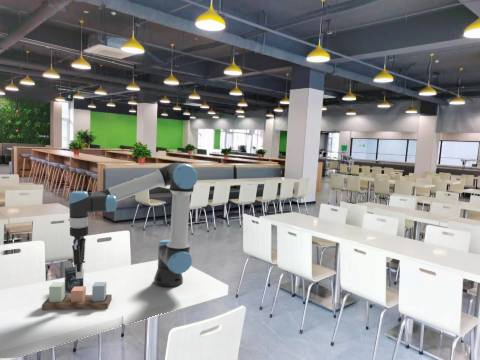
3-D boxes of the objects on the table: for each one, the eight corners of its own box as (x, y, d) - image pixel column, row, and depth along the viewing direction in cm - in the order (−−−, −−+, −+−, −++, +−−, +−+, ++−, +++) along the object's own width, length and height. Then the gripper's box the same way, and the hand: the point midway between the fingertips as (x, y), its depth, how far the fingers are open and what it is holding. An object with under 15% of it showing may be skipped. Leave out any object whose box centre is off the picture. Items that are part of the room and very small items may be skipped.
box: (66, 292, 181) (66, 271, 181) (64, 288, 186) (64, 267, 185) (83, 289, 186) (83, 268, 185) (81, 285, 190) (81, 265, 190)
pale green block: (64, 297, 170) (64, 282, 169) (61, 301, 165) (61, 286, 164) (53, 297, 169) (53, 282, 168) (49, 302, 164) (49, 286, 163)
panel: (111, 299, 175) (111, 294, 175) (107, 308, 166) (107, 303, 165) (50, 300, 171) (50, 295, 171) (42, 310, 161) (42, 304, 161)
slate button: (106, 296, 172) (106, 282, 172) (103, 301, 167) (104, 286, 167) (94, 296, 172) (94, 282, 171) (92, 301, 167) (92, 286, 166)
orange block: (85, 301, 171) (85, 286, 171) (82, 305, 166) (82, 290, 166) (74, 301, 170) (74, 286, 170) (70, 306, 165) (70, 290, 165)
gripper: (74, 223, 171) (74, 273, 173) (65, 229, 158) (66, 283, 160) (91, 223, 172) (91, 272, 174) (84, 229, 159) (84, 283, 162)
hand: (79, 277), depth 167 cm, fingers closed
